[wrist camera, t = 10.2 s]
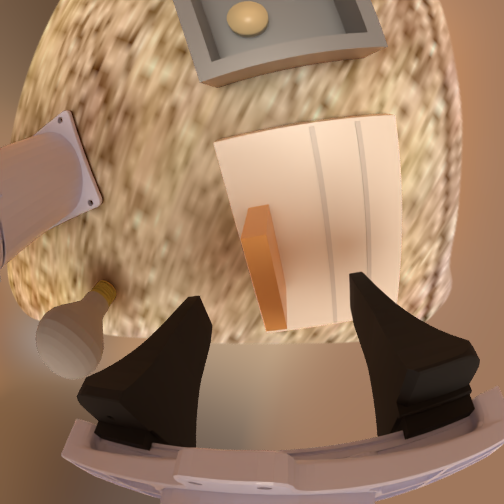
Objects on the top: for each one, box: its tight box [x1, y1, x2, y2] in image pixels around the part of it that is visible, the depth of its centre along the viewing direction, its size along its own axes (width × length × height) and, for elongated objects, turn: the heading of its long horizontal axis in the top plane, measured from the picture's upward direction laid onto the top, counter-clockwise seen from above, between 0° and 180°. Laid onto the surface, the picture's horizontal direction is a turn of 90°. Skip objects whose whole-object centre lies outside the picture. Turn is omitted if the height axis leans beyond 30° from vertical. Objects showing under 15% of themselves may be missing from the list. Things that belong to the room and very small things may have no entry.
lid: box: [214, 114, 402, 333], centre depth 16 cm, size 10×14×6 cm
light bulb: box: [36, 280, 116, 379], centre depth 18 cm, size 5×5×10 cm
